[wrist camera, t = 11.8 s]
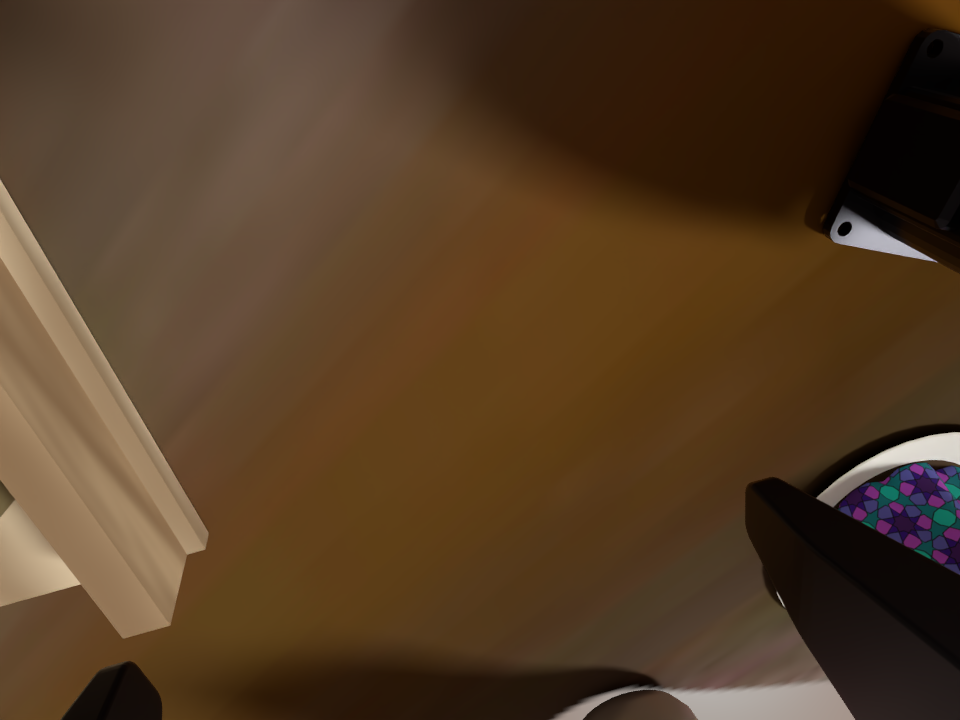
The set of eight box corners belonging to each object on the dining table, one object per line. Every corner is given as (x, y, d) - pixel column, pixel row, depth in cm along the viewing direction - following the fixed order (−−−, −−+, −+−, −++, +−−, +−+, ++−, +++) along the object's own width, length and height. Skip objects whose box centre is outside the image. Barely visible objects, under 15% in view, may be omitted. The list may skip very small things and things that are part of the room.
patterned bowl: (993, 568, 36) (1085, 657, 31) (771, 643, 36) (832, 743, 31) (1030, 385, 29) (1153, 464, 25) (759, 476, 29) (835, 571, 25)
